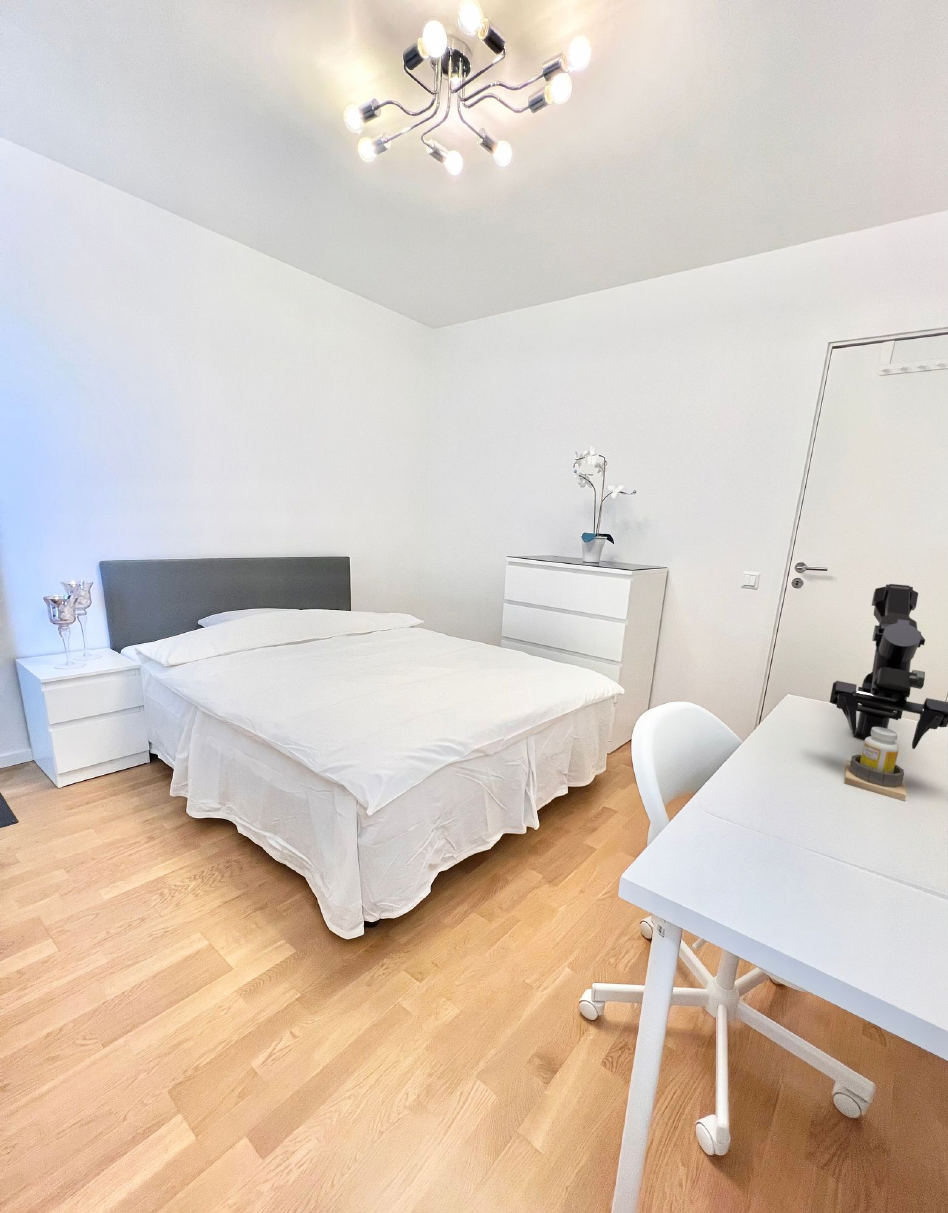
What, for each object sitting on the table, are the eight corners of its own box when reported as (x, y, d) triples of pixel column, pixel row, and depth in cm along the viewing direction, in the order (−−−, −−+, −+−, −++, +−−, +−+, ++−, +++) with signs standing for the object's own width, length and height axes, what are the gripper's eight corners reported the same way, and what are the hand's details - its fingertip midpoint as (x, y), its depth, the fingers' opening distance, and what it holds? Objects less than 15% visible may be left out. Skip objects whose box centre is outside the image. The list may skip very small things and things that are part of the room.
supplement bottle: (860, 777, 101) (869, 732, 99) (855, 766, 105) (864, 722, 103) (894, 785, 98) (904, 739, 96) (888, 774, 103) (898, 729, 101)
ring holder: (846, 765, 108) (849, 748, 108) (901, 780, 103) (905, 763, 102) (844, 783, 100) (847, 765, 100) (904, 800, 95) (908, 782, 94)
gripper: (840, 643, 105) (828, 708, 99) (963, 662, 95) (959, 736, 88) (835, 671, 113) (823, 733, 106) (947, 692, 102) (943, 762, 96)
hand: (882, 740), depth 99 cm, fingers open, 9 cm apart
